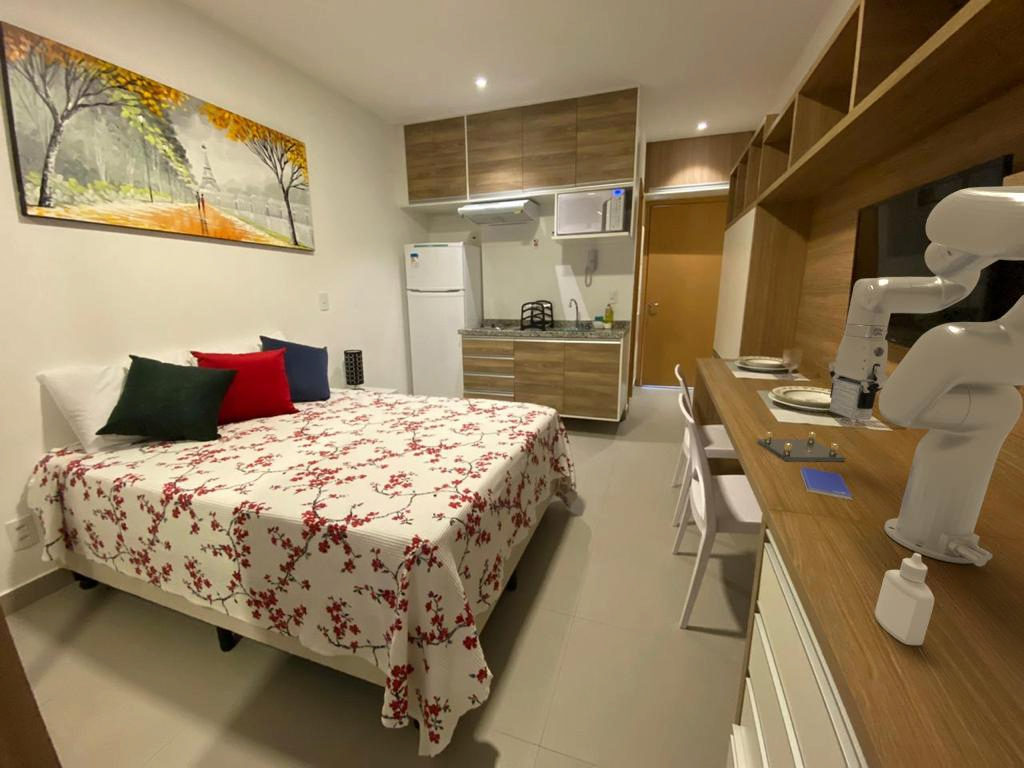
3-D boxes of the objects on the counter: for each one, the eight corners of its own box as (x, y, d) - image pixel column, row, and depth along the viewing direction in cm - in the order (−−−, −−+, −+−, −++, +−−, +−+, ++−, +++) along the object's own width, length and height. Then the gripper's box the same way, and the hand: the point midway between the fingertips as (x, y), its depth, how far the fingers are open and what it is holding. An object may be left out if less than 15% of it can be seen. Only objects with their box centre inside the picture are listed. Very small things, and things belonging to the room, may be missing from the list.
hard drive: (852, 496, 91) (840, 473, 102) (808, 487, 95) (801, 466, 106) (851, 502, 92) (839, 479, 102) (806, 493, 96) (800, 472, 106)
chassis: (844, 461, 111) (847, 447, 110) (785, 461, 111) (787, 446, 110) (810, 443, 124) (813, 429, 123) (757, 442, 124) (759, 429, 123)
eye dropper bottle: (880, 637, 56) (901, 560, 53) (872, 610, 61) (890, 538, 58) (924, 652, 54) (948, 573, 51) (912, 622, 59) (933, 548, 56)
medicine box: (871, 420, 99) (878, 385, 97) (852, 420, 99) (859, 384, 97) (845, 411, 107) (851, 378, 105) (828, 410, 107) (834, 377, 105)
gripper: (915, 337, 90) (897, 414, 94) (851, 328, 106) (838, 394, 111) (880, 336, 90) (863, 414, 94) (822, 328, 106) (810, 393, 111)
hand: (850, 402), depth 102 cm, fingers closed on medicine box, 8 cm apart
